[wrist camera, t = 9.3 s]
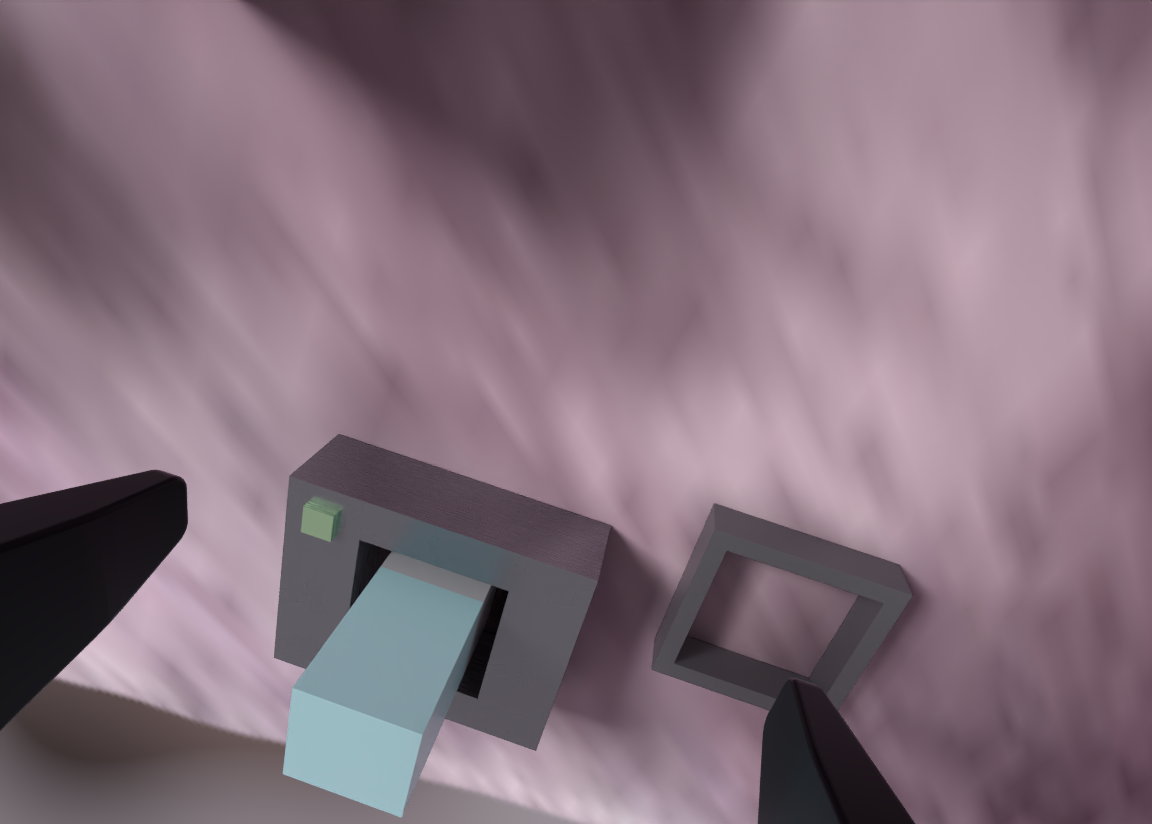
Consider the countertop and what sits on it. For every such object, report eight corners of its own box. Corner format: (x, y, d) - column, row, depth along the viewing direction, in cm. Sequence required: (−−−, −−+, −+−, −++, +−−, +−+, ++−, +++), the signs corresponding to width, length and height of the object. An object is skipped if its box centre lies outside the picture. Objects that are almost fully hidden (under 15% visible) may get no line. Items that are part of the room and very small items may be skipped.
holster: (899, 564, 21) (912, 595, 20) (818, 695, 24) (825, 729, 22) (714, 503, 21) (714, 529, 20) (654, 638, 24) (651, 669, 23)
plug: (508, 547, 24) (422, 734, 16) (488, 617, 25) (401, 817, 18) (417, 515, 24) (292, 687, 16) (403, 587, 25) (282, 773, 18)
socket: (611, 525, 22) (596, 587, 19) (553, 685, 26) (533, 758, 23) (338, 434, 23) (283, 480, 20) (318, 602, 26) (268, 663, 23)
